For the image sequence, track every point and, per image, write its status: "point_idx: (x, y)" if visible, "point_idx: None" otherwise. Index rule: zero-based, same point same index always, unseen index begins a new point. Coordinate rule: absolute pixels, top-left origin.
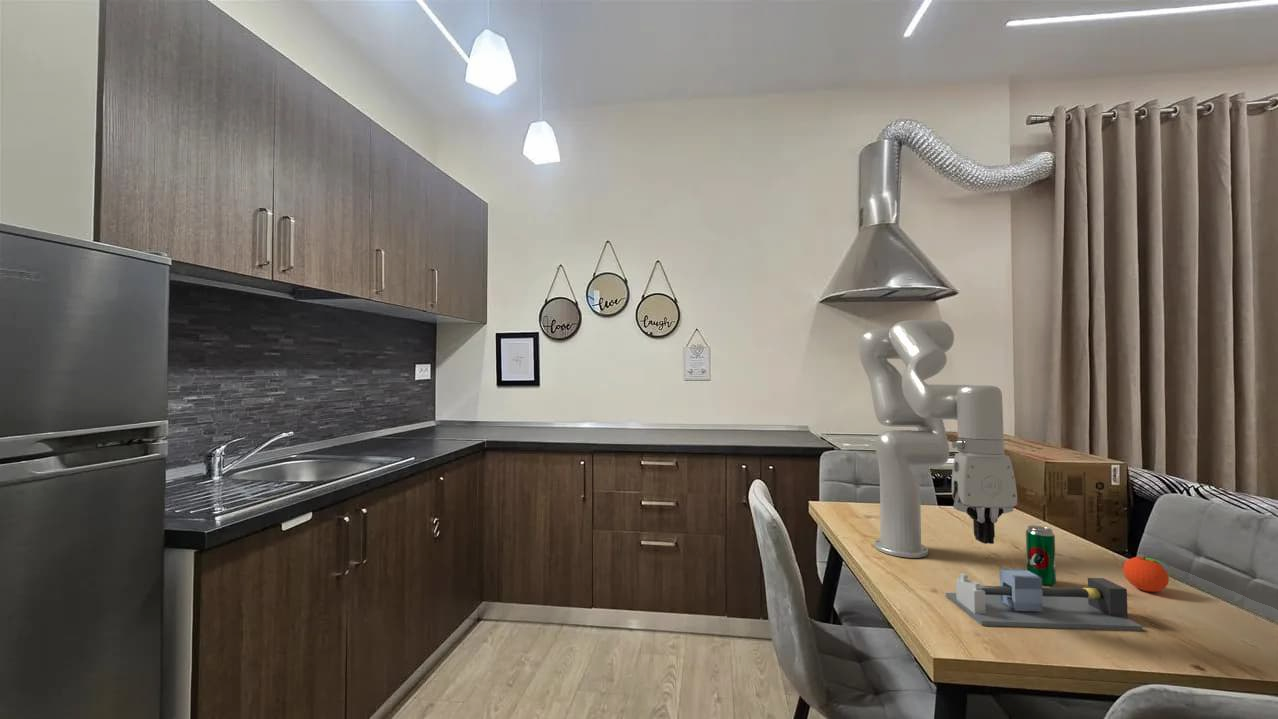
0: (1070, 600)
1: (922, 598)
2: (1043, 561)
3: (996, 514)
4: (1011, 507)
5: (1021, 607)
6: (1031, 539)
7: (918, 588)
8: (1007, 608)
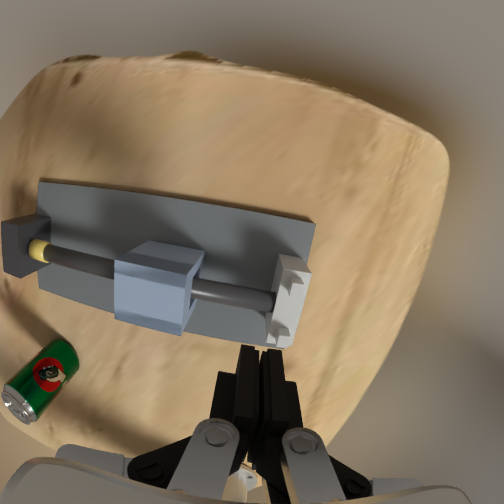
0: (66, 281)
1: (336, 340)
2: (46, 365)
3: (193, 460)
4: (77, 462)
5: (189, 250)
6: (38, 401)
7: (308, 377)
8: (207, 269)
